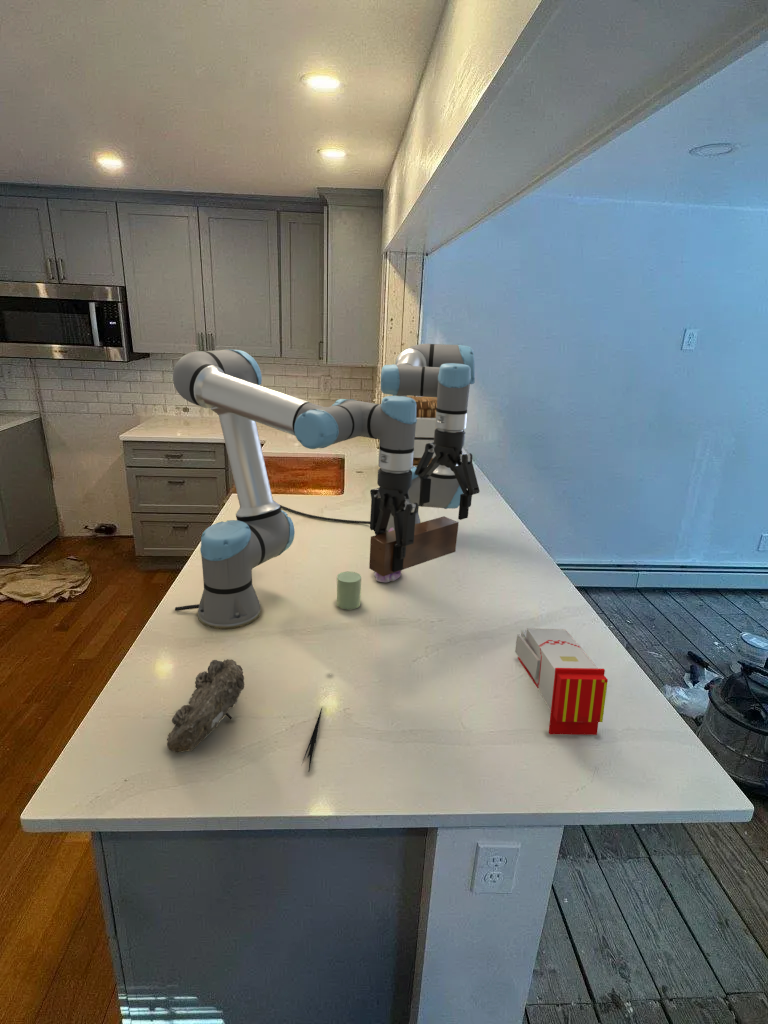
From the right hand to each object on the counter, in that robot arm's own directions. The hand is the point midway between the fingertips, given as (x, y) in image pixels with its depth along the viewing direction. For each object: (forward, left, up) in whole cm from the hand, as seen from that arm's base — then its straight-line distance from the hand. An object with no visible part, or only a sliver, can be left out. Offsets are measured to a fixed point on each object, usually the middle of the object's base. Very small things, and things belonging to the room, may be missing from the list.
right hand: (443, 510), depth 146 cm
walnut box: (+5, -14, -8) cm, 17 cm away
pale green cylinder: (-13, -20, -26) cm, 36 cm away
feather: (+20, -52, -26) cm, 62 cm away
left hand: (+5, -22, -8) cm, 24 cm away
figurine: (-19, -1, -26) cm, 32 cm away
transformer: (-95, +85, -26) cm, 130 cm away
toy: (+42, -8, -26) cm, 50 cm away
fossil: (+7, -68, -26) cm, 73 cm away
